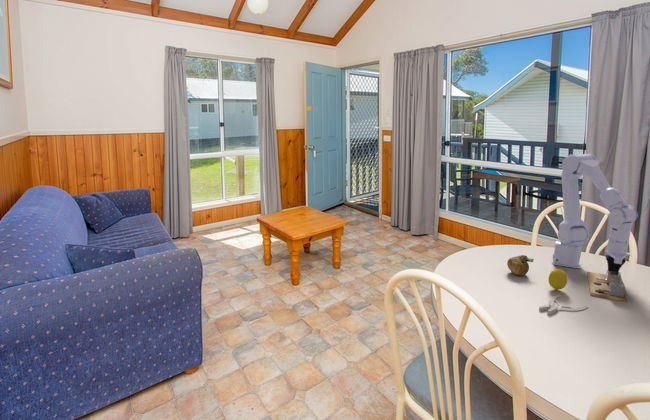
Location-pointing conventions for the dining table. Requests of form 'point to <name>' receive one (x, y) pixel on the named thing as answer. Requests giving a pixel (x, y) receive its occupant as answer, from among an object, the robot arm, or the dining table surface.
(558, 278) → the lemon
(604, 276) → the gauge board
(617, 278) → the sliding leg
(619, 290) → the fixed leg
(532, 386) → the dining table surface
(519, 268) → the onion
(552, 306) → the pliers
